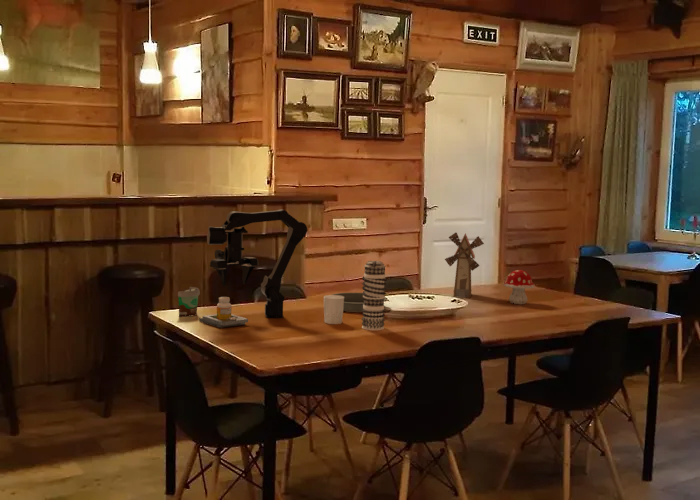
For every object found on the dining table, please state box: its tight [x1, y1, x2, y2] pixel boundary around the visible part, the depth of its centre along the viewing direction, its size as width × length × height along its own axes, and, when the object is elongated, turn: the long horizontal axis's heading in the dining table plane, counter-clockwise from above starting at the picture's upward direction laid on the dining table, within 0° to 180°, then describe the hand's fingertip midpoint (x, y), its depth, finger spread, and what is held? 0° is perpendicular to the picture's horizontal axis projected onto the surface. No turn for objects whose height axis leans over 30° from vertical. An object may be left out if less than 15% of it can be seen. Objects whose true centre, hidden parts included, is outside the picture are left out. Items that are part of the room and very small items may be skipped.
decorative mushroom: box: [502, 269, 535, 305], centre depth 369 cm, size 14×14×15 cm
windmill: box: [444, 232, 485, 299], centre depth 383 cm, size 18×13×30 cm
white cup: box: [323, 294, 344, 325], centre depth 316 cm, size 8×8×10 cm
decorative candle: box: [361, 260, 388, 331], centre depth 307 cm, size 9×9×25 cm
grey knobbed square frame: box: [198, 313, 249, 329], centre depth 309 cm, size 16×11×3 cm
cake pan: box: [331, 292, 387, 313], centre depth 349 cm, size 25×25×4 cm
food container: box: [177, 286, 201, 317], centre depth 323 cm, size 12×6×10 cm, turn 168°
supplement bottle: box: [216, 296, 232, 320], centre depth 309 cm, size 5×5×10 cm
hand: (234, 284), depth 318 cm, fingers open, 9 cm apart
